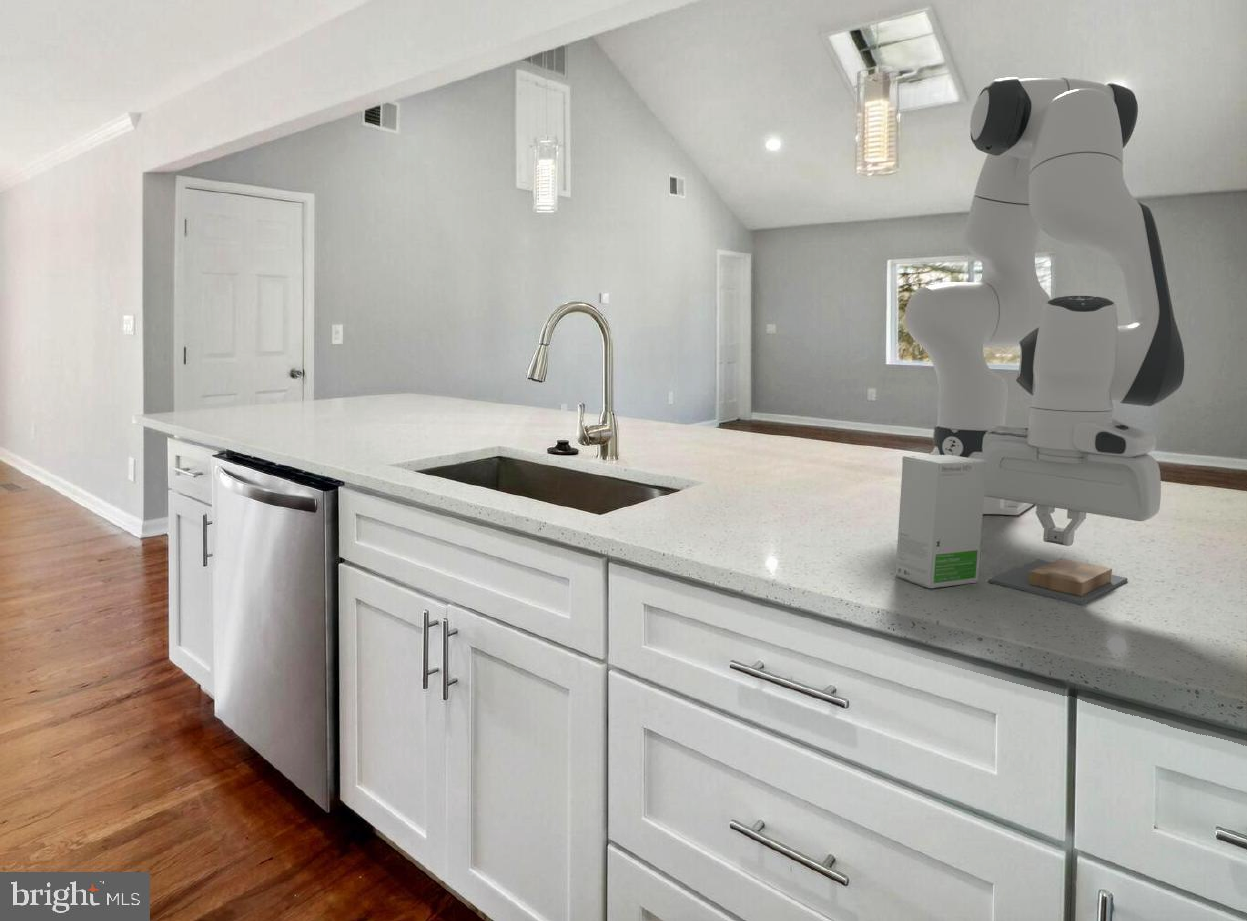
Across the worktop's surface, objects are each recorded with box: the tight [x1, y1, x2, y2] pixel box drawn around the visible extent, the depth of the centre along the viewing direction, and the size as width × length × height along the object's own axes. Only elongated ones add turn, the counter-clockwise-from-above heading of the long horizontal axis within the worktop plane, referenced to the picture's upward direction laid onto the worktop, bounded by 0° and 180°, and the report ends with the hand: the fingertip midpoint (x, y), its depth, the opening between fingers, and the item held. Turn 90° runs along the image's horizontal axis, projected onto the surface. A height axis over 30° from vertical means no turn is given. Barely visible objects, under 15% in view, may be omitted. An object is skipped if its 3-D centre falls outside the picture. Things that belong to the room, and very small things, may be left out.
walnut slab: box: [1029, 558, 1113, 596], centre depth 101 cm, size 9×2×6 cm
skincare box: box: [895, 454, 987, 589], centre depth 103 cm, size 8×7×16 cm
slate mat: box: [987, 558, 1128, 605], centre depth 103 cm, size 14×11×1 cm
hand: (1058, 543), depth 102 cm, fingers closed
